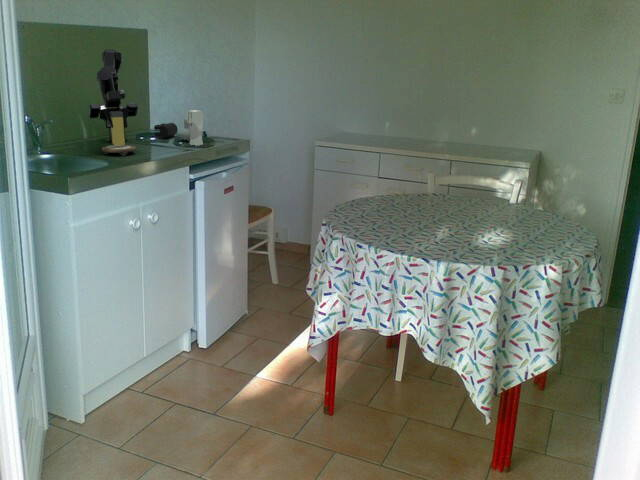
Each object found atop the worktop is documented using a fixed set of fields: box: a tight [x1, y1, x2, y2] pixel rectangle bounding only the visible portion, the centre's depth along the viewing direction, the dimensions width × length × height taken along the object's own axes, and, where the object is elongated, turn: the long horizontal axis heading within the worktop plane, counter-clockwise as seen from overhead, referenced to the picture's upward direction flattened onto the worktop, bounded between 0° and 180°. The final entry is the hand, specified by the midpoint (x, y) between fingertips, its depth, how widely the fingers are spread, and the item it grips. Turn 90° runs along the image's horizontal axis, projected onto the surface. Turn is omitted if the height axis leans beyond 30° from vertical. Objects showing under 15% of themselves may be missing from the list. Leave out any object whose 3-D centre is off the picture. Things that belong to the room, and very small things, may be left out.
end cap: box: [153, 122, 178, 140], centre depth 302 cm, size 10×7×7 cm
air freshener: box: [178, 118, 204, 140], centre depth 295 cm, size 11×8×10 cm
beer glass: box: [186, 109, 204, 147], centre depth 283 cm, size 7×7×15 cm
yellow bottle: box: [110, 111, 126, 145], centre depth 257 cm, size 4×4×13 cm
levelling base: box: [101, 144, 136, 157], centre depth 260 cm, size 13×13×3 cm
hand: (118, 126), depth 256 cm, fingers closed on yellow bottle, 4 cm apart
